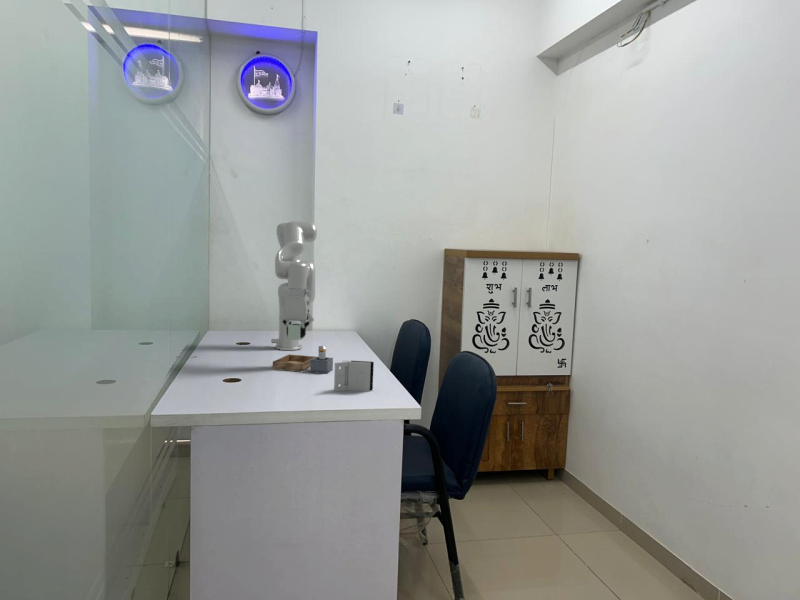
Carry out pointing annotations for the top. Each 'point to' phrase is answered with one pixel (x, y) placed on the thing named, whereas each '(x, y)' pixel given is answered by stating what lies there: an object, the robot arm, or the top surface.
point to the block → (321, 365)
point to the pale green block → (294, 331)
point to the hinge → (353, 375)
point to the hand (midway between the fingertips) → (296, 336)
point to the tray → (293, 362)
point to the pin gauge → (322, 353)
